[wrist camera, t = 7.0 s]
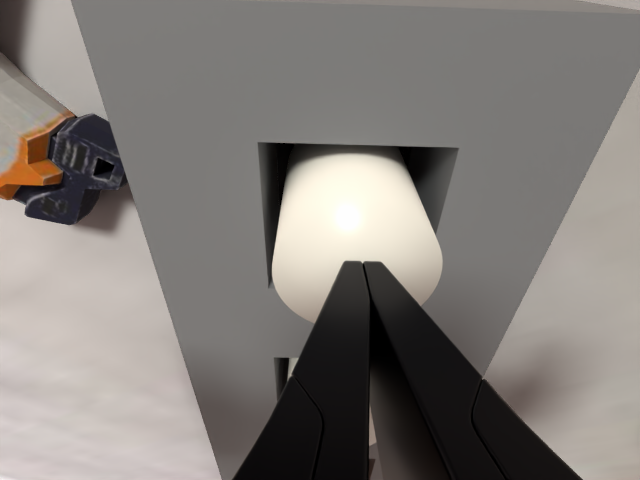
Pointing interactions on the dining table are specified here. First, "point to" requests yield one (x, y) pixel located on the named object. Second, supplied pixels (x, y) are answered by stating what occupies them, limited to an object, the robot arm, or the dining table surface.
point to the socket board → (348, 129)
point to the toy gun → (52, 152)
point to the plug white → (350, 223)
